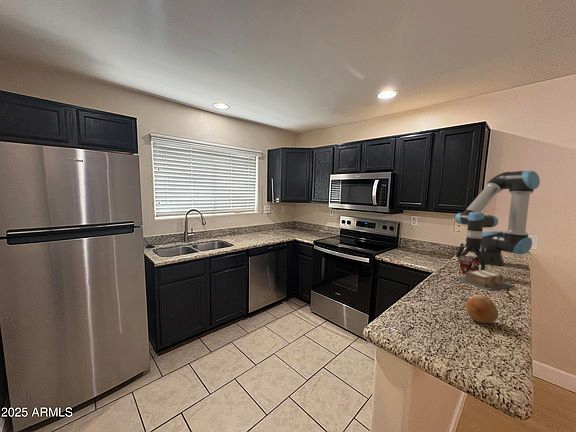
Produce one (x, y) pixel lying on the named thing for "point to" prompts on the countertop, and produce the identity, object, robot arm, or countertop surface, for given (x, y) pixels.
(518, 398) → the countertop surface
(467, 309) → the onion
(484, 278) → the plinth
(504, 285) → the build mat
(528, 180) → the robot arm
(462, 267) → the toy fire truck
